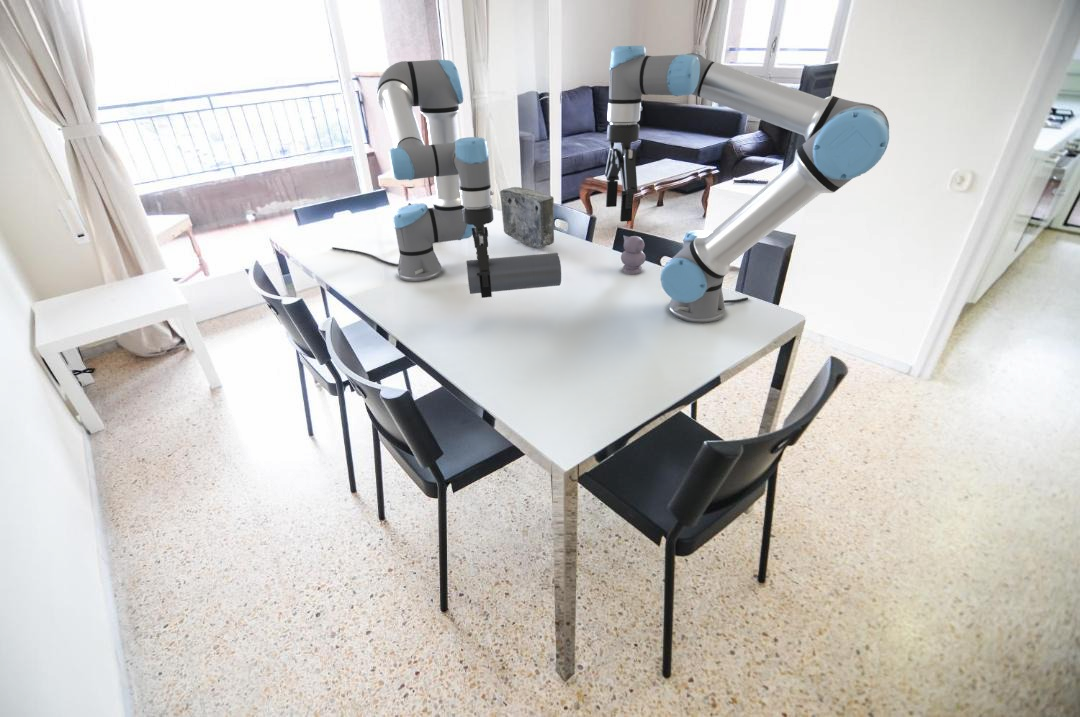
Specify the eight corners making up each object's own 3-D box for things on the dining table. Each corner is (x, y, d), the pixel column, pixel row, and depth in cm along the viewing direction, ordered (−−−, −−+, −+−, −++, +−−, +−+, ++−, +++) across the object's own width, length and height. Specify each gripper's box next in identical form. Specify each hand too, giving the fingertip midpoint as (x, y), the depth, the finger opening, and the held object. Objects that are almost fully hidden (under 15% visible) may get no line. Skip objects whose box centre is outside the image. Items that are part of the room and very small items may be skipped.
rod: (470, 299, 131) (466, 267, 126) (469, 286, 139) (465, 255, 134) (561, 290, 134) (561, 259, 129) (555, 278, 141) (555, 248, 137)
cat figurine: (649, 270, 171) (652, 236, 165) (636, 276, 167) (638, 242, 160) (628, 264, 176) (630, 231, 170) (615, 271, 172) (617, 237, 165)
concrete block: (559, 249, 192) (558, 197, 182) (540, 255, 188) (538, 201, 178) (520, 233, 211) (518, 185, 200) (503, 238, 207) (499, 188, 196)
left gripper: (495, 216, 115) (502, 305, 126) (489, 194, 133) (496, 273, 145) (463, 219, 114) (473, 307, 126) (461, 196, 132) (470, 276, 144)
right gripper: (657, 129, 107) (648, 226, 118) (623, 116, 128) (618, 200, 139) (623, 130, 106) (617, 228, 117) (595, 117, 127) (592, 201, 138)
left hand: (485, 289), depth 135 cm, fingers closed on rod, 9 cm apart
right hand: (618, 213), depth 128 cm, fingers open, 13 cm apart
